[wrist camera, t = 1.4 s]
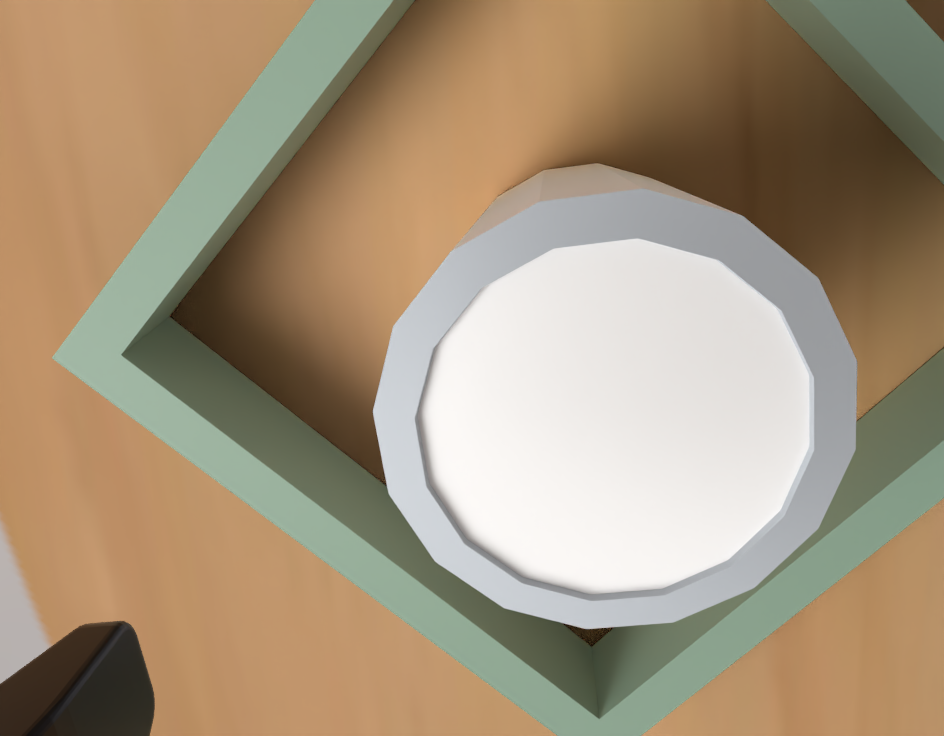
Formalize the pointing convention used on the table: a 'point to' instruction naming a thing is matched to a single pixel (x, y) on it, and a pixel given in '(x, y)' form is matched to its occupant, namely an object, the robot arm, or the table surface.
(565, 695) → the green tray
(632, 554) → the white cup
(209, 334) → the table surface
